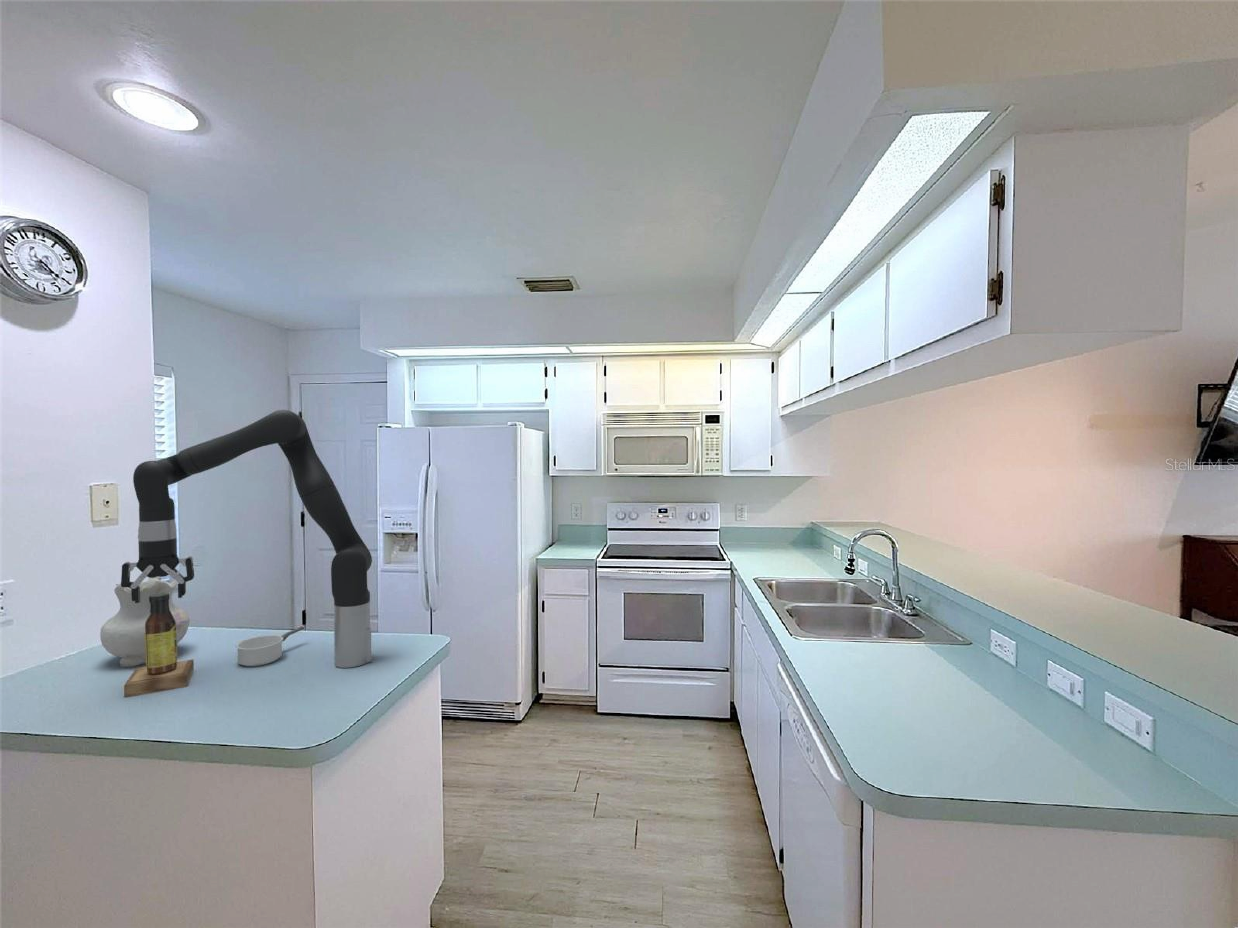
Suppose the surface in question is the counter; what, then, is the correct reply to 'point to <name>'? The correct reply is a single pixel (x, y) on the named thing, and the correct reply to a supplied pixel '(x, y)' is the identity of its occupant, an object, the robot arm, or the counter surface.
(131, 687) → the walnut base block
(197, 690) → the counter surface
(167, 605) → the sauce bottle
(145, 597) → the ceramic pitcher
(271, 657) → the saucepan
